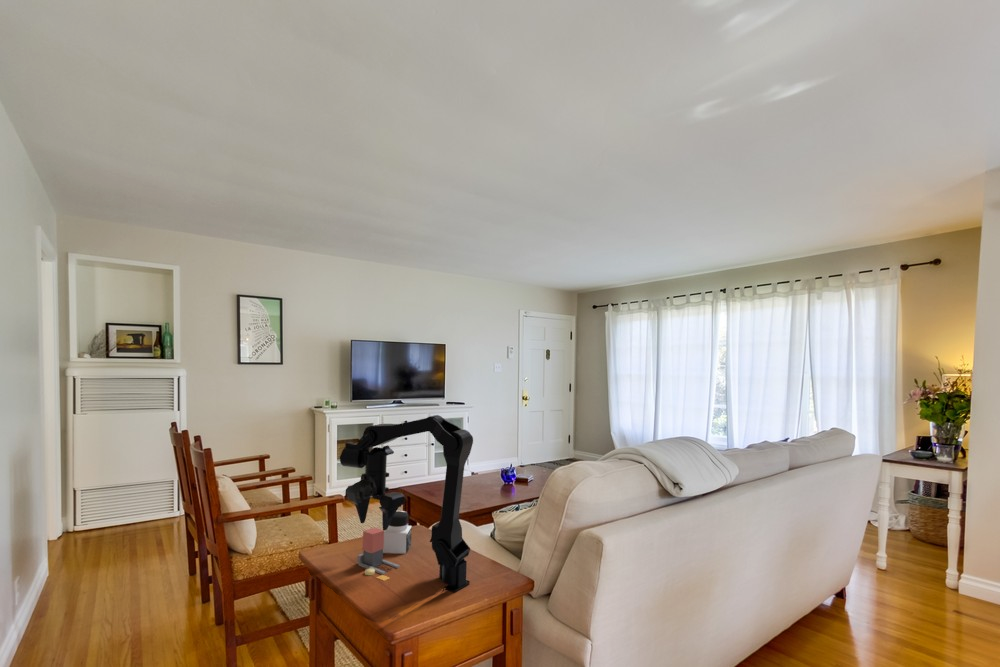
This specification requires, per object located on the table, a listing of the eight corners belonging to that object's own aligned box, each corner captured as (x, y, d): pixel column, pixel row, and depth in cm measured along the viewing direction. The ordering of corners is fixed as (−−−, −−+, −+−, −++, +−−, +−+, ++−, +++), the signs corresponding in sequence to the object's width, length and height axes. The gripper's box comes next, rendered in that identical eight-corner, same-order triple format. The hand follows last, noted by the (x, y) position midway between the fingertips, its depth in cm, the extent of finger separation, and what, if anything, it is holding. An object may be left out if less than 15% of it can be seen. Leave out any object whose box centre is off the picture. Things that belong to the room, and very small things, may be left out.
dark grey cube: (382, 563, 138) (383, 548, 138) (372, 567, 135) (373, 552, 135) (372, 560, 140) (373, 545, 140) (362, 564, 137) (363, 549, 137)
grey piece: (410, 576, 133) (410, 562, 133) (384, 588, 126) (385, 573, 126) (372, 562, 142) (373, 549, 142) (346, 572, 134) (347, 559, 135)
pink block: (373, 545, 140) (374, 527, 141) (383, 548, 138) (384, 530, 138) (362, 549, 137) (363, 531, 137) (372, 553, 135) (373, 534, 135)
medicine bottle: (406, 558, 145) (407, 516, 146) (382, 557, 145) (383, 515, 146) (411, 548, 152) (412, 509, 153) (388, 548, 153) (389, 508, 153)
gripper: (330, 469, 138) (328, 526, 137) (376, 480, 127) (373, 542, 126) (362, 463, 147) (360, 517, 146) (407, 473, 136) (405, 530, 135)
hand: (373, 526), depth 138 cm, fingers open, 9 cm apart
